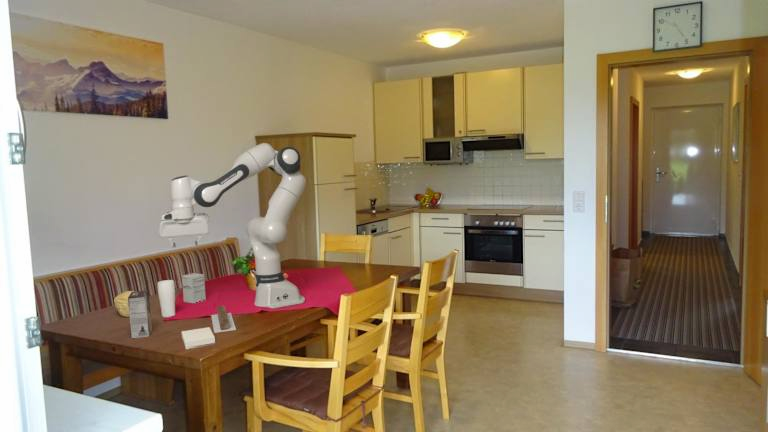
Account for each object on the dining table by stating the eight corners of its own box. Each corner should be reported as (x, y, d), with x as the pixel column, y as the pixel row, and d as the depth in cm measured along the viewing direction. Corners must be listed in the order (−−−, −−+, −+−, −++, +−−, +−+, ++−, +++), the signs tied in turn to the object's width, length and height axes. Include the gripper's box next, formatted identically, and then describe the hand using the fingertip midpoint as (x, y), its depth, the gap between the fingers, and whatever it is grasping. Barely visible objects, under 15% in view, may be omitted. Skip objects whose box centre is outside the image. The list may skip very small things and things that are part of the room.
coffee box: (134, 331, 219) (131, 291, 217) (152, 329, 221) (148, 289, 219) (131, 339, 210) (127, 297, 208) (149, 336, 212) (146, 295, 210)
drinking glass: (171, 318, 235) (168, 283, 233) (156, 318, 236) (153, 283, 235) (180, 314, 241) (177, 280, 240) (166, 313, 243) (163, 279, 241)
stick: (225, 314, 236) (224, 305, 235) (228, 329, 215) (228, 319, 215) (217, 315, 235) (217, 306, 234) (220, 330, 214) (220, 320, 214)
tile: (209, 327, 213) (214, 337, 200) (209, 334, 213) (215, 345, 200) (181, 331, 208) (185, 342, 196) (182, 339, 209) (185, 350, 196)
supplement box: (183, 302, 262) (181, 275, 261) (196, 298, 268) (194, 272, 267) (193, 304, 258) (191, 277, 257) (206, 300, 264) (204, 273, 263)
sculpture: (111, 317, 240) (108, 293, 239) (134, 310, 251) (132, 286, 250) (130, 320, 236) (127, 295, 234) (152, 312, 246) (150, 288, 245)
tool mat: (230, 313, 239) (230, 312, 239) (236, 331, 214) (236, 329, 214) (211, 316, 236) (211, 315, 236) (214, 334, 212) (214, 332, 212)
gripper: (208, 211, 245) (210, 243, 247) (158, 215, 239) (160, 247, 240) (208, 213, 239) (211, 245, 241) (157, 216, 233) (160, 249, 234)
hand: (185, 246), depth 240 cm, fingers open, 8 cm apart
